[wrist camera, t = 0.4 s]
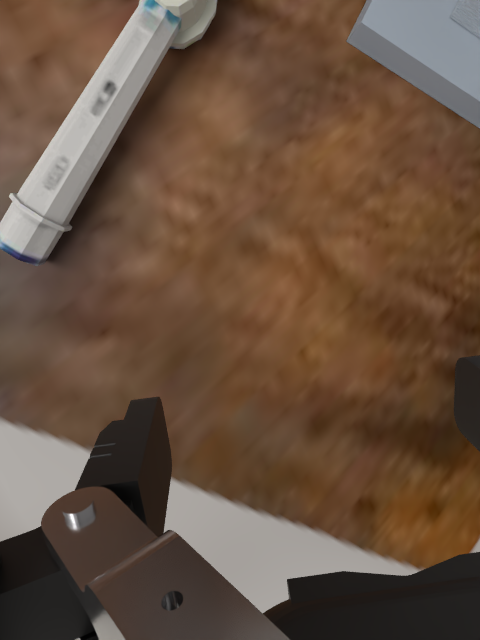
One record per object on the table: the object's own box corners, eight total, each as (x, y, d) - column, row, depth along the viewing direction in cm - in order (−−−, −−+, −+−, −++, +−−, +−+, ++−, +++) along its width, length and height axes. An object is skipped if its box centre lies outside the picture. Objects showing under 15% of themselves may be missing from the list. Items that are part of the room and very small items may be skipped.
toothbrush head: (-29, 232, 32) (166, -109, 28) (12, 228, 38) (174, -49, 34) (39, 274, 33) (236, -49, 29) (67, 263, 39) (231, -2, 35)
